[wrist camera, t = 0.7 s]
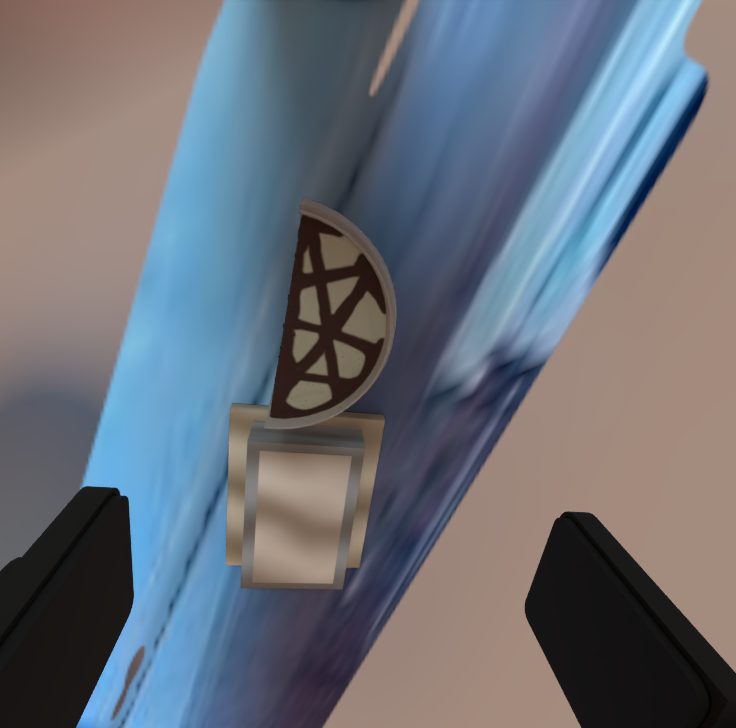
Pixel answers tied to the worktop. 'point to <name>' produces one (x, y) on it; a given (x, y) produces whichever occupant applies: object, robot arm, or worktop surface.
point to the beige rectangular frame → (299, 497)
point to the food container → (331, 321)
